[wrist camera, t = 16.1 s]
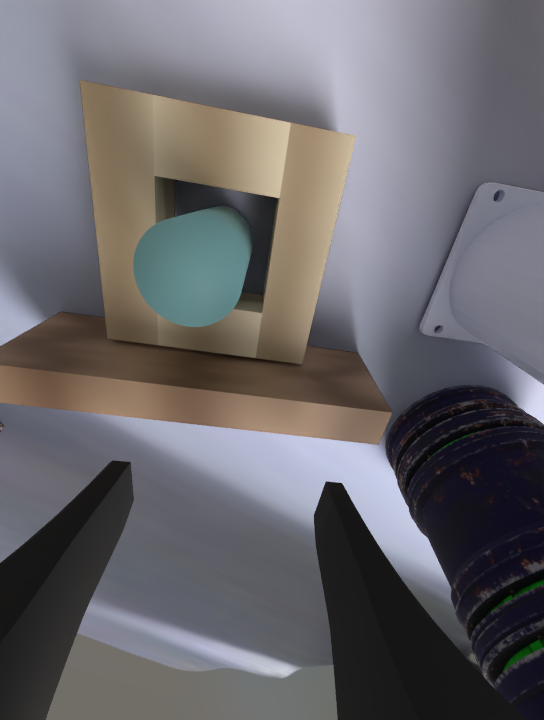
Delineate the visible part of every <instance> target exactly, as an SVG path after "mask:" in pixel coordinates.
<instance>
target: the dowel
mask: <svg viewBox="0 0 544 720" xmlns="http://www.w3.org/2000/svg"><path fill="white" fill-rule="evenodd" d="M253 243H254V238H253V232H252V229H251V226H250V224H249V222H248V221H247V220H246V218H245V217H244V216H243V215H242V214H241V213H240V212H238V211H237V210H235V209H233V208H230V207H227V206H214V207H211V208H207V209H203V210H199V211H196V212H192V213H188V214H184V215H180V216H177V217H173V218H169V219H166V220H163V221H161V222H158V223H156V224H155V225H153V226H152V227H150V228H149V229H148V230H147V231H146V232H145V233H144V235H143V236H142V237H141V239H140V241H139V242H138V244H137V247H136V250H135V253H134V259H133V271H134V277H135V281H136V284H137V287H138V289H139V291H140V293H141V295H142V297H143V298H144V300H145V301H146V302H147V304H148V305H149V306H150V307H151V308H152V309H153V310H154V311H155V312H156V313H158V314H159V315H160V316H162V317H163V318H165V319H167V320H169V321H171V322H173V323H176V324H178V325H183V326H188V327H202V326H207V325H211V324H213V323H216V322H218V321H220V320H222V319H223V318H224V317H226V316H227V315H228V314H229V313H230V312H231V311H232V310H233V308H234V307H235V306H236V304H237V302H238V300H239V298H240V295H241V291H242V288H243V284H244V280H245V276H246V272H247V268H248V265H249V261H250V257H251V253H252V249H253Z"/></svg>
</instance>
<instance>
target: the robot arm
mask: <svg viewBox="0 0 544 720" xmlns="http://www.w3.org/2000/svg"><path fill="white" fill-rule="evenodd" d="M497 191H499V197H498V199H497V200H496V201H494V199H493V197H494V194H495V193H496V192H497ZM438 325H440V328H439V329H438V330H436V331H434V329H435V327H436V326H438ZM420 331H421V332H422V333H423V334H424V335H427V336H434V337H441V338H448V339H455V340H461V341H468V342H475V343H482V344H486V345H488V346H489V347H490V348H492V349H493V350H495V351H496V352H498V353H499V354H500V355H502V356H503V357H505V358H506V359H508V360H509V361H511V362H512V363H513V364H515V365H516V366H518V367H519V368H521V369H522V370H524V371H525V372H526V373H528V374H529V375H531V376H532V377H534V378H535V379H537V380H538V381H539V382H541V383H542V384H544V192H541V191H536V190H530V189H525V188H520V187H515V186H510V185H505V184H500V183H495V182H490V183H484V184H482V185H481V186H480V187H479V188H478V189H477V191H476V192H475V195H474V197H473V199H472V202H471V204H470V206H469V209H468V211H467V214H466V216H465V218H464V221H463V223H462V226H461V228H460V230H459V233H458V235H457V238H456V240H455V242H454V245H453V247H452V250H451V252H450V254H449V257H448V259H447V262H446V264H445V266H444V269H443V271H442V273H441V276H440V278H439V281H438V283H437V285H436V288H435V290H434V293H433V295H432V297H431V300H430V302H429V305H428V307H427V309H426V312H425V314H424V317H423V319H422V321H421V324H420ZM133 500H134V497H133V485H132V474H131V462H123V461H112V462H110V463H109V464H108V465H107V466H106V467H105V468H104V469H103V470H102V471H101V472H100V473H99V474H98V475H97V476H96V478H95V479H94V480H93V481H92V482H91V483H90V484H89V485H88V486H87V487H86V488H85V489H84V490H83V491H81V492H80V493H79V494H78V495H77V496H76V497H75V498H74V499H73V500H72V501H71V502H70V503H69V504H68V505H67V506H66V507H65V508H64V509H63V510H62V511H61V512H59V513H58V514H57V515H56V516H55V517H54V518H53V519H52V520H51V521H50V522H48V523H47V524H46V525H45V526H44V527H43V528H42V529H40V530H39V531H38V532H37V533H36V534H35V535H34V536H32V537H31V538H30V539H29V540H28V541H27V542H25V543H24V544H23V545H22V546H21V547H19V548H18V549H17V550H16V551H15V552H13V553H12V554H11V555H10V556H8V557H7V558H6V559H5V560H3V561H2V562H1V563H0V720H46V717H47V714H48V711H49V708H50V705H51V702H52V699H53V696H54V694H55V691H56V688H57V685H58V683H59V680H60V677H61V674H62V672H63V669H64V666H65V663H66V661H67V658H68V655H69V652H70V650H71V647H72V645H73V642H74V639H75V636H76V634H77V631H78V629H79V626H80V624H81V621H82V618H83V616H84V614H85V611H86V609H87V607H88V604H89V602H90V600H91V598H92V596H93V593H94V591H95V589H96V587H97V585H98V583H99V581H100V579H101V576H102V574H103V572H104V570H105V568H106V566H107V564H108V562H109V559H110V557H111V555H112V553H113V551H114V549H115V547H116V545H117V542H118V540H119V538H120V536H121V534H122V532H123V529H124V526H125V524H126V521H127V518H128V515H129V512H130V509H131V506H132V503H133ZM314 526H315V540H316V549H317V555H318V561H319V567H320V572H321V578H322V584H323V589H324V595H325V601H326V606H327V612H328V618H329V625H330V633H331V644H332V654H333V665H334V675H335V689H336V701H337V714H338V720H526V719H525V718H524V717H523V716H522V715H521V714H520V713H519V712H518V711H517V710H516V709H515V708H514V707H513V706H512V705H511V704H510V703H509V702H508V701H507V700H506V699H505V698H504V697H503V696H502V695H501V694H500V693H499V692H498V691H497V690H496V689H495V688H494V687H493V686H492V685H491V684H490V683H489V682H488V681H487V680H486V679H485V678H484V677H483V676H482V675H481V673H480V672H479V671H478V670H477V669H476V668H475V667H474V666H473V665H472V664H471V663H470V662H469V661H468V660H467V658H466V657H465V656H464V655H463V654H462V653H461V652H460V650H459V649H458V648H457V647H456V646H455V645H454V644H453V642H452V641H451V640H450V639H449V638H448V637H447V636H446V634H445V633H444V632H443V631H442V630H441V629H440V628H439V626H438V625H437V624H436V623H435V622H434V620H433V619H432V618H431V617H430V615H429V614H428V613H427V612H426V611H425V609H424V608H423V607H422V606H421V604H420V603H419V602H418V600H417V599H416V598H415V597H414V595H413V594H412V593H411V591H410V590H409V589H408V587H407V586H406V585H405V583H404V582H403V581H402V579H401V578H400V576H399V575H398V574H397V572H396V571H395V569H394V568H393V566H392V565H391V563H390V562H389V561H388V559H387V558H386V556H385V555H384V553H383V552H382V550H381V548H380V547H379V545H378V544H377V542H376V541H375V539H374V537H373V536H372V534H371V533H370V531H369V529H368V528H367V526H366V524H365V523H364V521H363V519H362V518H361V516H360V514H359V513H358V511H357V509H356V507H355V506H354V504H353V502H352V500H351V498H350V497H349V495H348V493H347V491H346V489H345V488H344V486H343V484H342V483H335V482H326V483H325V486H324V488H323V491H322V494H321V497H320V500H319V503H318V505H317V508H316V511H315V514H314Z"/></svg>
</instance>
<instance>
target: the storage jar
mask: <svg viewBox="0 0 544 720" xmlns="http://www.w3.org/2000/svg"><path fill="white" fill-rule="evenodd" d="M386 455H387V458H388V460H389V463H390V465H391V467H392V468H393V470H394V472H395V475H396V478H397V481H398V486H399V489H400V491H401V493H402V496H403V498H404V500H405V502H406V504H407V505H408V507H409V512H410V515H411V517H412V519H413V520H414V522H415V523H416V525H417V527H418V528H419V530H420V531H421V532H422V533H423V534H424V535H425V536H426V537H427V538H428V539H429V541H430V544H431V546H432V548H433V550H434V552H435V554H436V556H437V559H438V561H439V563H440V565H441V567H442V569H443V571H444V574H445V576H446V578H447V580H448V582H449V584H450V586H451V589H452V590H451V600H452V603H453V606H454V608H455V610H456V616H457V619H458V621H459V623H460V624H461V625H462V627H463V628H464V630H465V632H466V634H467V637H468V639H469V640H470V646H471V649H472V652H473V654H474V655H475V658H476V661H477V663H478V665H479V667H480V670H481V671H482V673H483V676H484V678H485V679H486V680H487V681H488V682H489V683H490V684H491V685H492V686H493V687H494V688H495V689H496V690H497V691H498V692H499V693H500V694H501V695H502V696H503V697H504V698H505V699H506V700H507V701H508V702H509V703H510V704H511V705H512V706H513V707H514V708H515V709H516V710H517V711H518V712H519V713H520V714H521V715H522V716H523V717H524V718H525V719H526V720H544V425H543V424H542V423H541V422H540V421H539V420H537V419H536V418H534V417H533V416H531V415H529V414H527V413H526V412H525V411H524V410H522V409H520V408H519V407H517V405H516V404H515V403H514V402H513V401H512V400H511V399H509V398H508V397H507V396H506V395H505V394H503V393H501V392H499V391H498V390H495V389H492V388H489V387H484V386H478V385H464V386H456V387H451V388H446V389H443V390H440V391H437V392H434V393H432V394H430V395H428V396H426V397H424V398H422V399H420V400H419V401H417V402H416V403H414V404H413V405H411V406H410V407H409V408H408V409H406V410H405V411H404V412H403V413H402V414H401V415H400V416H399V417H398V419H397V420H396V421H395V423H394V424H393V426H392V428H391V430H390V431H389V434H388V437H387V440H386Z"/></svg>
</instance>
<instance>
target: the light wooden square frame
mask: <svg viewBox="0 0 544 720" xmlns="http://www.w3.org/2000/svg"><path fill="white" fill-rule="evenodd" d="M80 89H81V98H82V108H83V117H84V126H85V135H86V145H87V154H88V163H89V172H90V182H91V191H92V200H93V209H94V219H95V228H96V237H97V246H98V256H99V265H100V274H101V283H102V293H103V302H104V311H105V320H106V330H107V338H108V339H115V340H123V341H130V342H138V343H145V344H153V345H160V346H168V347H176V348H183V349H191V350H198V351H206V352H213V353H221V354H228V355H236V356H244V357H251V358H259V359H266V360H274V361H281V362H289V363H296V364H302V363H303V359H304V354H305V350H306V346H307V342H308V337H309V333H310V329H311V325H312V321H313V316H314V312H315V308H316V304H317V299H318V295H319V291H320V287H321V282H322V278H323V274H324V270H325V265H326V261H327V257H328V253H329V249H330V244H331V240H332V236H333V232H334V227H335V223H336V219H337V215H338V210H339V206H340V202H341V198H342V193H343V189H344V185H345V181H346V177H347V172H348V168H349V164H350V160H351V155H352V151H353V147H354V143H355V138H356V136H354V135H349V134H344V133H339V132H334V131H330V130H325V129H320V128H315V127H310V126H305V125H300V124H295V123H290V122H285V121H280V120H275V119H270V118H265V117H260V116H255V115H250V114H246V113H241V112H236V111H231V110H226V109H221V108H216V107H211V106H206V105H201V104H196V103H191V102H186V101H181V100H176V99H171V98H166V97H161V96H157V95H152V94H147V93H142V92H137V91H132V90H127V89H122V88H117V87H112V86H107V85H102V84H97V83H92V82H87V81H82V80H80ZM175 180H181V181H186V182H192V183H198V184H203V185H209V186H214V187H220V188H225V189H231V190H237V191H242V192H248V193H253V194H259V195H264V196H270V197H276V198H277V203H276V210H275V217H274V224H273V231H272V237H271V244H270V251H269V258H268V264H267V271H266V278H265V285H264V292H263V295H259V294H252V293H246V292H241V295H240V298H239V300H238V302H237V304H236V306H235V307H234V308H233V310H232V311H231V312H230V313H229V314H228V315H227V316H226V317H224V318H223V319H222V320H220V321H218V322H216V323H213V324H211V325H207V326H202V327H188V326H183V325H178V324H176V323H173V322H171V321H169V320H167V319H165V318H163V317H162V316H160V315H159V314H158V313H156V312H155V311H154V310H153V309H152V308H151V307H150V306H149V305H148V304H147V302H146V301H145V300H144V298H143V297H142V295H141V293H140V291H139V289H138V287H137V284H136V281H135V277H134V271H133V259H134V253H135V250H136V247H137V244H138V242H139V241H140V239H141V237H142V236H143V235H144V233H145V232H146V231H147V230H148V229H149V228H150V227H152V226H153V225H155V224H156V223H158V222H161V221H163V220H166V219H169V218H173V217H175Z"/></svg>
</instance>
